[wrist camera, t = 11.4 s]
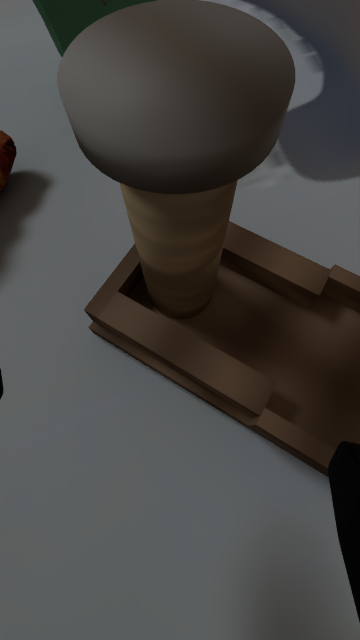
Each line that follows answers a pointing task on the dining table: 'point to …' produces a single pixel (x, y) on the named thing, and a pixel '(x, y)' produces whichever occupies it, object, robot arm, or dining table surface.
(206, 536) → the dining table surface
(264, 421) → the tray
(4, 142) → the croissant
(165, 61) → the peg
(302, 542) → the dining table surface
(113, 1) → the mug
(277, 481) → the dining table surface
